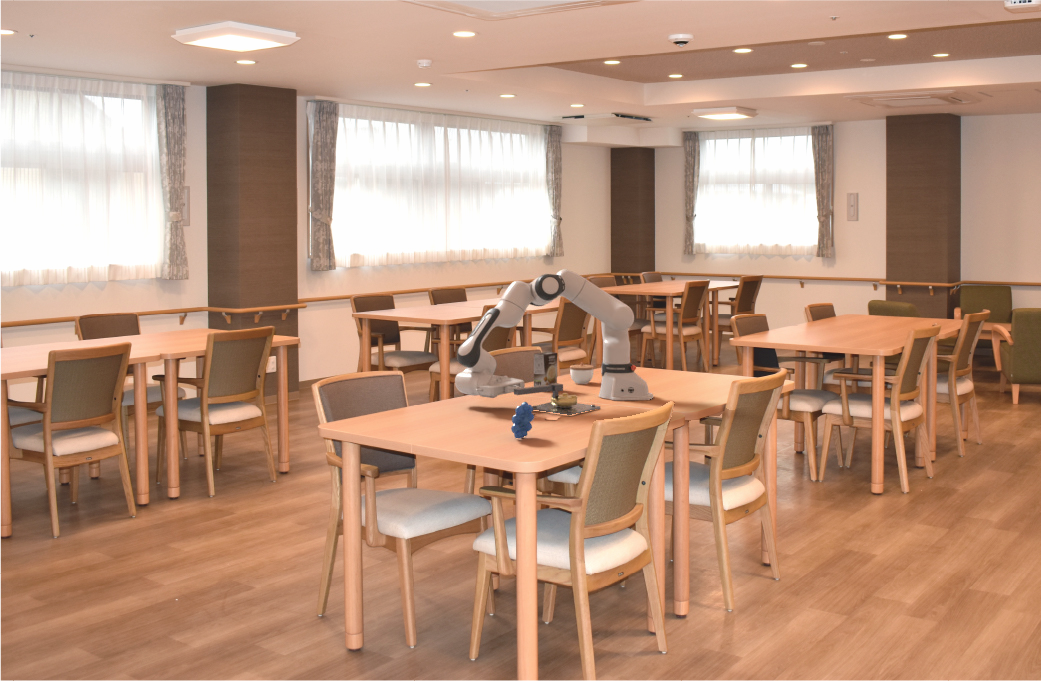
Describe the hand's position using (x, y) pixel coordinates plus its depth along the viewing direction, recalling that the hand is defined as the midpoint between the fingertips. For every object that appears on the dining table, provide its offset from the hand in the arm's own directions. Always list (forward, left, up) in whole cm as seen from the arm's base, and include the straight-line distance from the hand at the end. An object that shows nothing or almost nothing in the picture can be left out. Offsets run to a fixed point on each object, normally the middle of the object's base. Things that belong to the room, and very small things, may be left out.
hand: (519, 389), depth 361 cm
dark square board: (-16, -9, -9) cm, 21 cm away
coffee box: (-6, -55, -9) cm, 56 cm away
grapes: (-4, +43, -9) cm, 45 cm away
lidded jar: (-21, -75, -9) cm, 79 cm away
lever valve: (-10, -3, -7) cm, 12 cm away
